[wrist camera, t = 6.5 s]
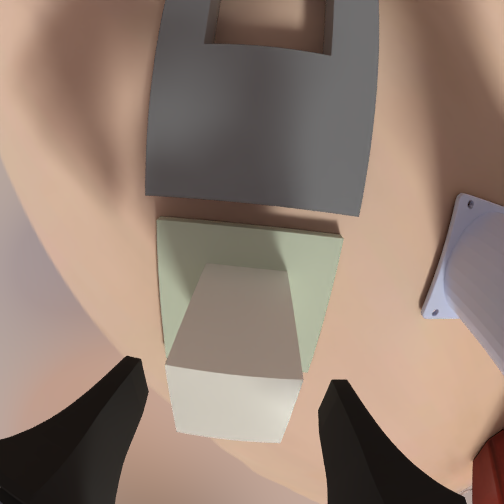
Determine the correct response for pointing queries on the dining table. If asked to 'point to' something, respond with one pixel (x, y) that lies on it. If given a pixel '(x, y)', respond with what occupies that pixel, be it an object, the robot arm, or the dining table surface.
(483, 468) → the plant pot
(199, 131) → the gray square hole board
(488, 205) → the robot arm
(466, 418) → the dining table surface
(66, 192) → the dining table surface
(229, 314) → the plug
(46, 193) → the dining table surface
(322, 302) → the mat
